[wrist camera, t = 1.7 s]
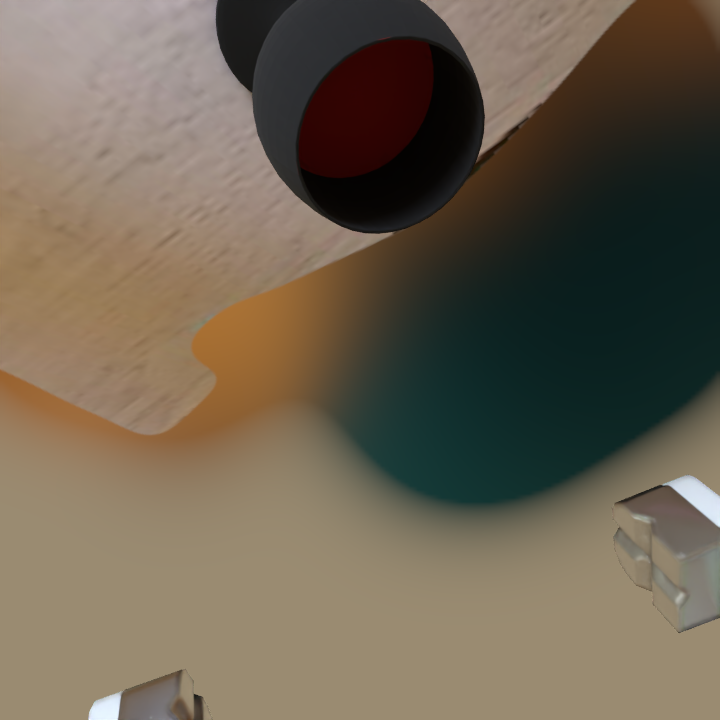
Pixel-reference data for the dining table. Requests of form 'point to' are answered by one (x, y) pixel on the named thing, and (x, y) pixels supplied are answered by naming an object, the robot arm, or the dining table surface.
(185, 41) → the dining table surface
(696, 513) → the robot arm
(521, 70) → the dining table surface
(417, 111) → the wine glass
